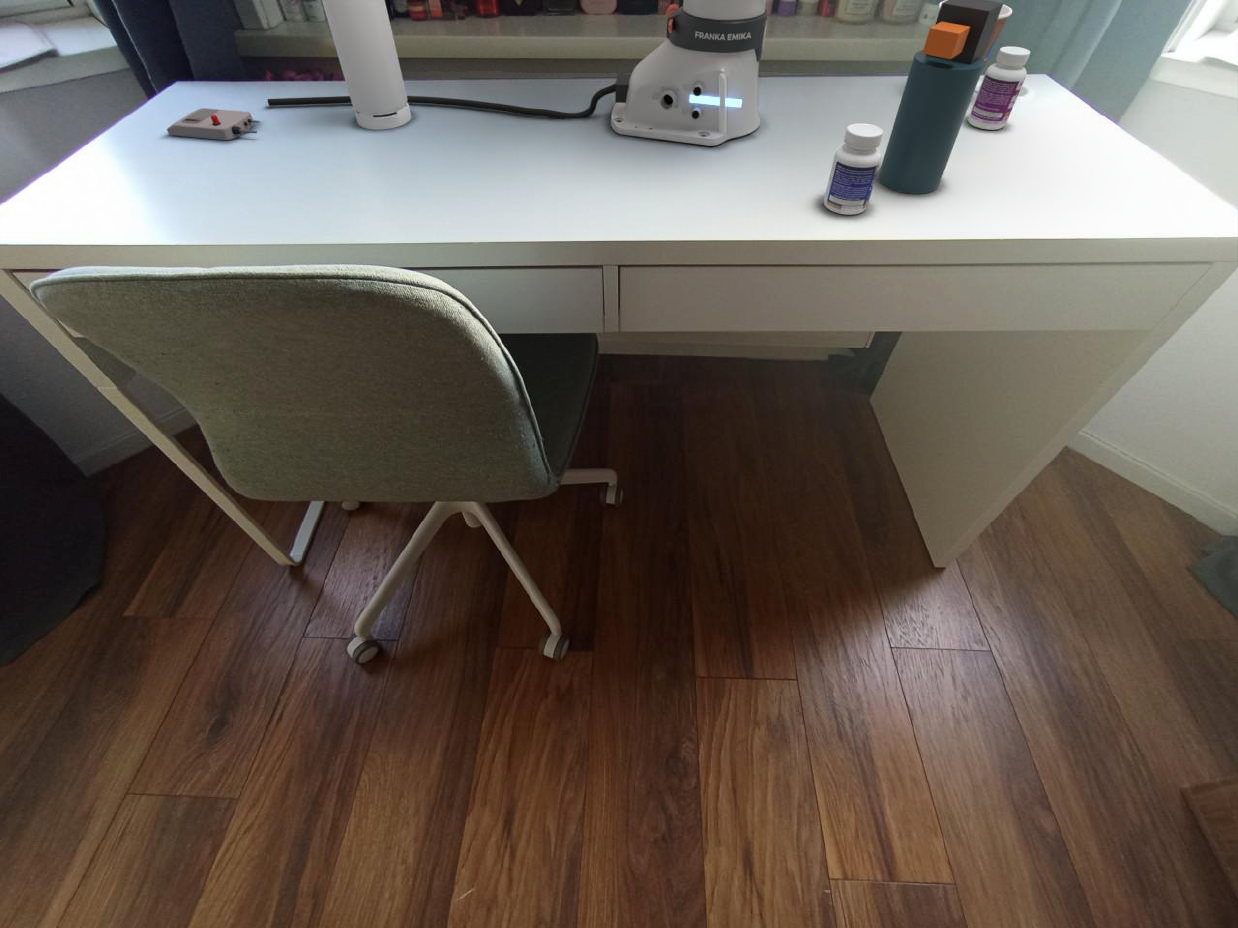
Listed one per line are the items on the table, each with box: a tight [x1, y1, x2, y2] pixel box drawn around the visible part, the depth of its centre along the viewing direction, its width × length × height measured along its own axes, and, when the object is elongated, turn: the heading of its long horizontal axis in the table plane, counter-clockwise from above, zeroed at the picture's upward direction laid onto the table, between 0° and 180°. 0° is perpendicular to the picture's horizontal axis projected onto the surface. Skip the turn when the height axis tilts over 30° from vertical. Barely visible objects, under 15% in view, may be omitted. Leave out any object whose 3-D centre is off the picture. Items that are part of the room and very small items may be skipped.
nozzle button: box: [922, 22, 970, 59], centre depth 69 cm, size 3×3×2 cm
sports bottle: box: [877, 0, 1004, 195], centre depth 76 cm, size 8×8×19 cm
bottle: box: [321, 0, 412, 131], centre depth 87 cm, size 8×8×28 cm
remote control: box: [166, 107, 261, 141], centre depth 93 cm, size 7×16×3 cm, turn 78°
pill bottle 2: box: [967, 45, 1031, 131], centre depth 92 cm, size 5×5×10 cm
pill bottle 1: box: [823, 122, 884, 216], centre depth 75 cm, size 5×5×9 cm
